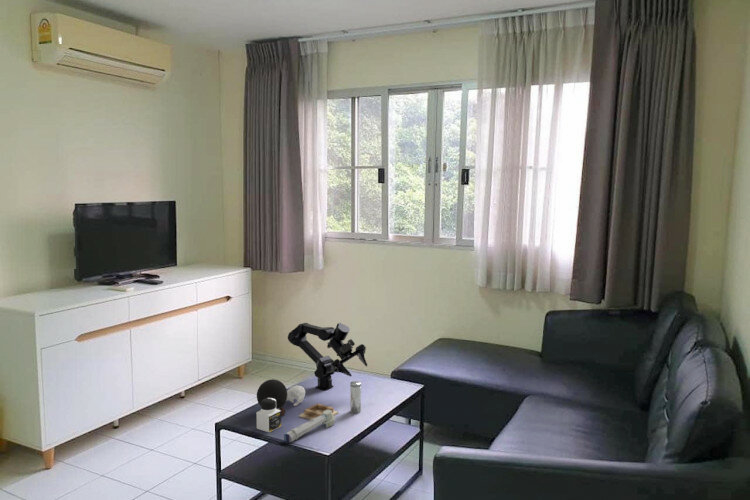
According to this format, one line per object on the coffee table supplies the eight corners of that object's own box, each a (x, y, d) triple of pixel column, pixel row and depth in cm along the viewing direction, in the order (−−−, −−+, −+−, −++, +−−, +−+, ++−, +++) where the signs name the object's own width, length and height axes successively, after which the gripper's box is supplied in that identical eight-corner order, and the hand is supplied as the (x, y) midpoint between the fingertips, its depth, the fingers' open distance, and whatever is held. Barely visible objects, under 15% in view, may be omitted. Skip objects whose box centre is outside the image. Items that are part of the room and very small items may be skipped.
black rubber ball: (293, 412, 238) (293, 379, 236) (271, 422, 227) (270, 387, 226) (273, 405, 246) (272, 373, 244) (250, 414, 235) (250, 381, 234)
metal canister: (348, 412, 238) (348, 383, 237) (354, 408, 242) (354, 380, 241) (356, 414, 236) (357, 385, 235) (363, 410, 240) (363, 382, 239)
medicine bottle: (269, 433, 217) (268, 404, 216) (256, 428, 221) (255, 400, 220) (281, 426, 223) (281, 398, 222) (268, 422, 227) (268, 395, 226)
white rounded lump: (298, 388, 243) (276, 386, 248) (300, 407, 243) (278, 405, 248) (306, 384, 248) (284, 382, 253) (307, 402, 249) (286, 400, 254)
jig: (299, 416, 233) (299, 410, 233) (316, 407, 243) (316, 401, 243) (321, 423, 227) (321, 416, 227) (338, 413, 237) (338, 407, 237)
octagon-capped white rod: (281, 431, 210) (328, 404, 228) (283, 447, 211) (329, 419, 229) (290, 435, 206) (336, 408, 225) (292, 451, 208) (338, 422, 226)
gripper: (323, 347, 249) (343, 371, 241) (356, 328, 258) (376, 351, 250) (323, 360, 257) (342, 384, 249) (354, 341, 266) (374, 364, 258)
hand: (359, 370), depth 251 cm, fingers open, 9 cm apart
